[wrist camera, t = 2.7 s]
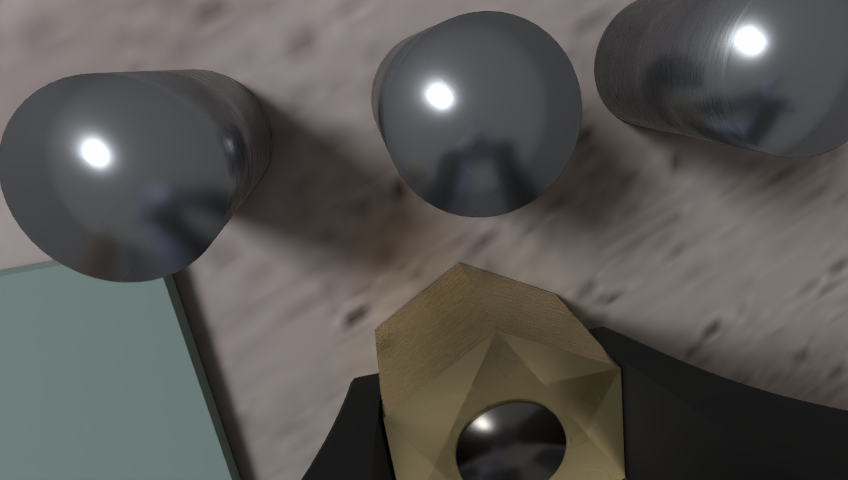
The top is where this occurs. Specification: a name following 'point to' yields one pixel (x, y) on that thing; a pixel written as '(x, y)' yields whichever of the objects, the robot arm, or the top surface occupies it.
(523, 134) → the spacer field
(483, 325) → the brass nut
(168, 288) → the green mat
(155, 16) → the top surface
